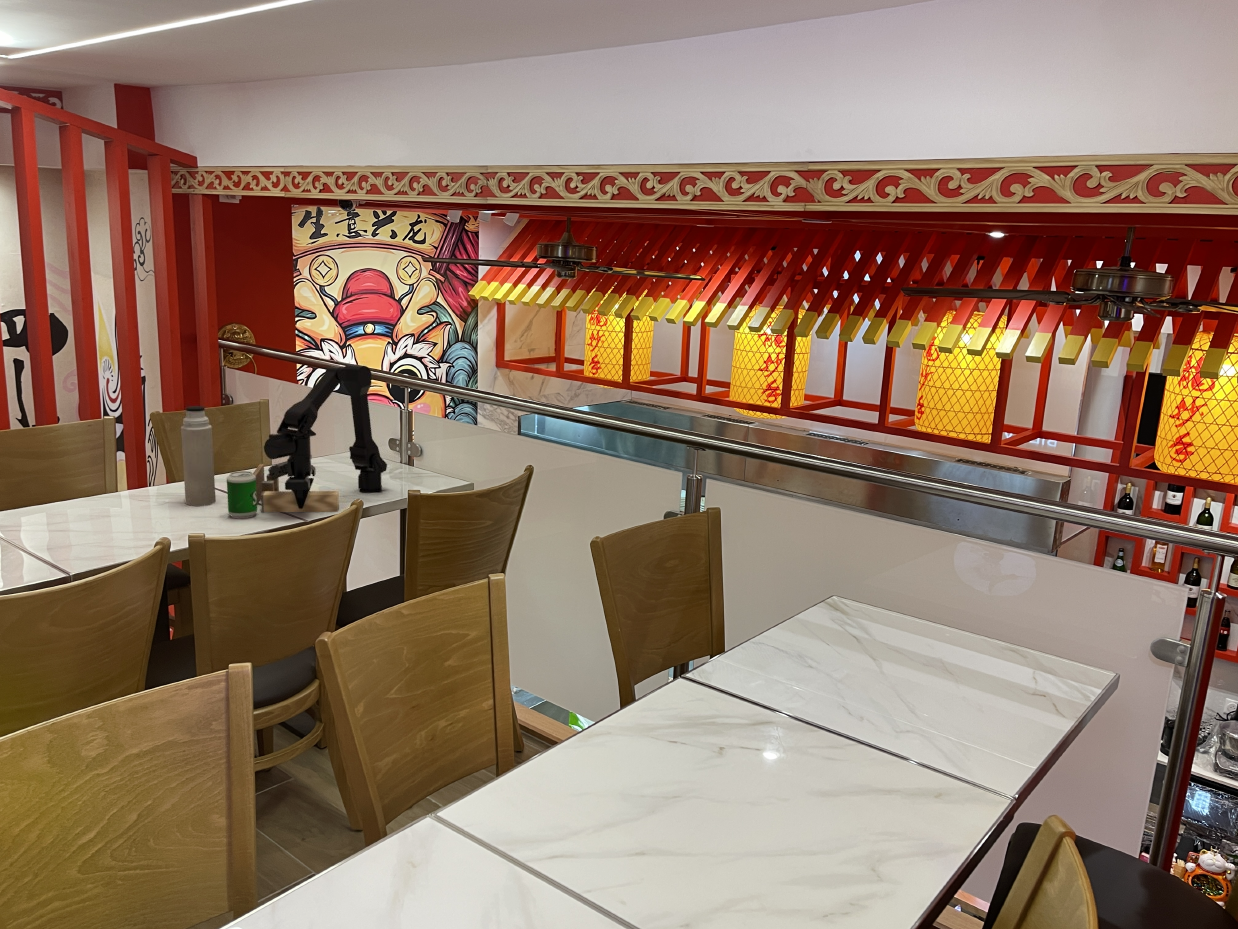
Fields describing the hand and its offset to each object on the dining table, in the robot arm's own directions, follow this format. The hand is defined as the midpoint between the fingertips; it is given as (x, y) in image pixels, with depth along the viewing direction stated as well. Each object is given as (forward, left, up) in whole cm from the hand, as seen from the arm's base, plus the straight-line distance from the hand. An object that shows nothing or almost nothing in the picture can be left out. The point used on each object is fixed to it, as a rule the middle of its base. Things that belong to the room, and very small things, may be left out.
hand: (301, 506), depth 270 cm
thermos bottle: (+29, -9, -1) cm, 30 cm away
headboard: (+11, -11, -1) cm, 16 cm away
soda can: (+15, +5, -1) cm, 16 cm away
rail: (0, 0, -1) cm, 1 cm away
